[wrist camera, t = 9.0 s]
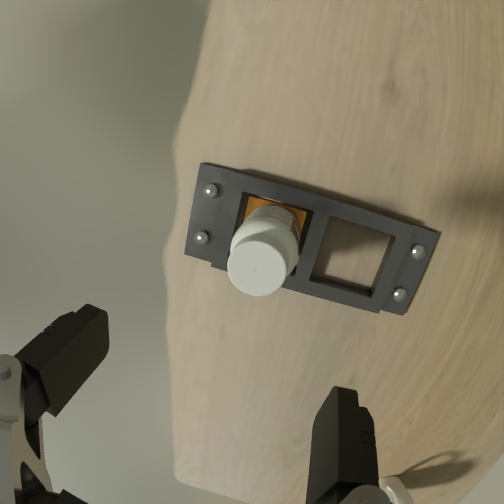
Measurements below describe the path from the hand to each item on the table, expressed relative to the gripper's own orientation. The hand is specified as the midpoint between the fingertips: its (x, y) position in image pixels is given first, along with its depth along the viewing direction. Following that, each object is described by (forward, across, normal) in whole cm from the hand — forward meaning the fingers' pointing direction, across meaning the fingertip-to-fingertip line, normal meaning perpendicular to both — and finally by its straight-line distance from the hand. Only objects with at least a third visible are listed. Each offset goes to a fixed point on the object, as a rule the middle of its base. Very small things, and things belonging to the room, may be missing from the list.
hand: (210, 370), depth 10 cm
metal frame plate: (+16, -3, 0) cm, 17 cm away
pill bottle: (+16, 0, 0) cm, 17 cm away
